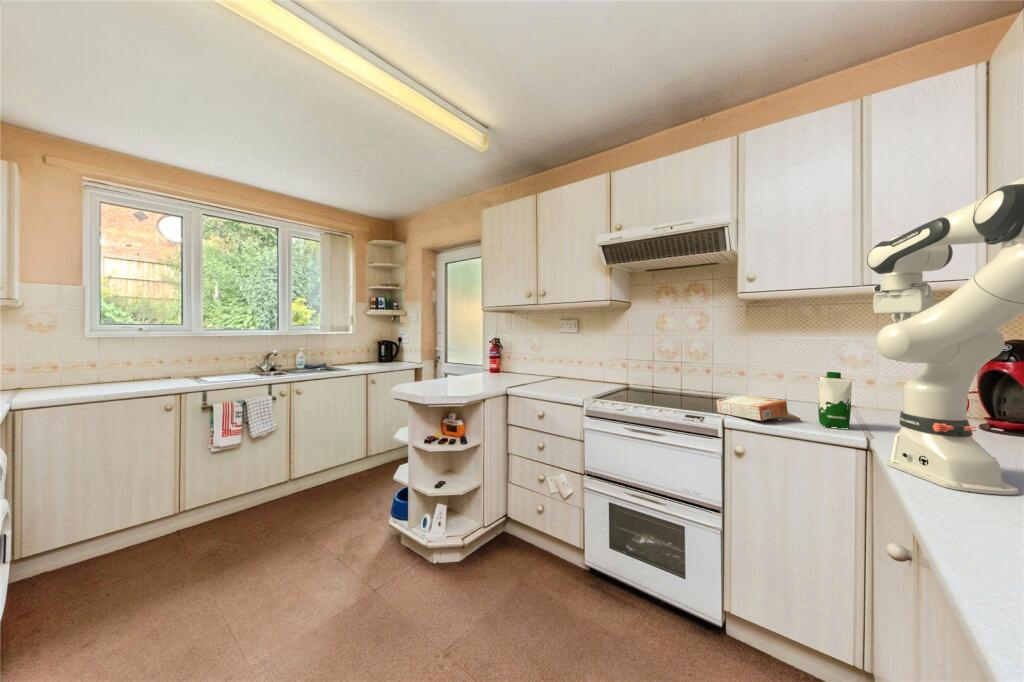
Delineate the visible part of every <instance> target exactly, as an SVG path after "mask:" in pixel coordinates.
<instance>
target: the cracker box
mask: <svg viewBox="0 0 1024 682" xmlns="http://www.w3.org/2000/svg"><path fill="white" fill-rule="evenodd" d="M715 400H716V407H717V408H716V409H717V413H719V414H724V415H729V416H734V417H739V418H743V419H749V420H753V421H754V420H755V421H758V422H759V421H760V422H763V421H766V420H767V419H771V418H775V417H779V416H783V415H788V413H789V411H788V404H787V400H783V399H777V398H776V399H775V398H767V397H760V396H754V395H753V396H752V395H746V394H739V395H734V396H729V397H725V398H720V399H715ZM767 421H768V420H767Z"/></svg>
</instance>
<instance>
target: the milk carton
mask: <svg viewBox="0 0 1024 682" xmlns="http://www.w3.org/2000/svg"><path fill="white" fill-rule="evenodd" d="M818 386H819V387H818V389H819V390H818V410H817V411H818V423H819V422H820V423H821V424H822V425H823V426H825V427H837V428H848V429H849V430H850V423H851V414H852V413H851V411H852V410H851V409H852V386H853V381H852V380H851V379H848V378H847V377H842V373H841V372H840V371H826V376H819V385H818ZM820 423H819V424H820ZM821 424H820V425H821ZM822 425H821V426H822ZM823 426H822V427H823Z"/></svg>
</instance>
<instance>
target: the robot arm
mask: <svg viewBox="0 0 1024 682" xmlns="http://www.w3.org/2000/svg"><path fill="white" fill-rule="evenodd" d="M980 243H985V244H986V245H988V246H989V245H997V244H999V243H1000V244H1001V247H1000V250H999V252H998V254H997V255H996V256H995V257H994V258H993V259H992V260H991V261H989V262H988V263H986V264H985V265H984V266H983V267H981V269H980V270H978V271H977V272H976V273H975V274H974V275H972V276H971V277H970V278H969V279H967V280H966V281H965V282H964V283H963V284H962V285H961V286H959V288H957V289H955V291H954V292H952V293H951V294H950V295H949V296H947V297H945V298H944V299H943V300H941V301H939V302H937V303H936V304H935V299H934V298H935V297H934V291H933V290H932V287H931V285H930V284H929V283H928V282H923V281H924V280H923V277H924V275H923V272H934V271H939V270H942V269H944V268H945V267H946V266H947V265H948V264H949V263H950V262H951V260H952V258H953V254H954V253H953V252H954V251H953V247H952V245H968V244H971V245H972V244H980ZM866 262H867V265H868V267H869V268H870V269H871V270H872V271H874V272H875V273H877V274H878V275H884V276H883V280H882V281H881V282H880V283H877V284H876V285H874V286H873V288H872V292H873V293H874V295H873V298H872V299H873V300H872V309H873V312H874V314H878V315H881V314H882V315H885V314H891V315H890V316H891V319H892V320H893V323H890V324H888V325H887V324H886V325H885V326H884V327H882V328H881V329H880V330H879V332H878V333H877V335H876V338H875V346H876V348H877V351H878V353H880V354H881V356H882V357H884V358H885V359H887V360H891V361H897V362H900V363H901V362H902V363H906V364H907V363H908V364H924V366H923V368H922V370H921V371H920V372H919V373H918V375H916V376H915V377H912V378H910V379H909V380H907V381H906V382H905V383H904V386H903V396H902V397H903V398H902V411H900V413H899V418H898V419H899V425H900V429H899V431H898V432H897V433H896V434H895V436H894V440H893V446H892V451H891V456H890V459H887V460H886V465H887V466H888V467H892V468H894V469H897V470H899V471H903V472H904V473H906V474H909V475H912V476H915V477H918V478H920V479H923V480H925V481H927V482H930V483H933V484H935V485H938V486H940V487H943V488H946V489H952V490H957V491H961V490H962V491H963V492H968V491H969V493H979V494H986V495H988V494H989V495H1001V496H1002V495H1005V496H1008V495H1009V496H1012V495H1018V494H1019V493H1020V490H1019V488H1017V487H1015V486H1013V485H1011V484H1009V483H1008V482H1005V481H1003V478H1002V467H1001V465H1000V463H999V461H997V458H995V457H994V456H992V455H991V454H990V453H989V452H988V451H987V450H986V449H985V448H984V447H983V446H982V445H981V444H979V442H977V441H976V440H975V439H974V437H973V432H977V430H975V429H977V428H978V427H977V426H971V425H970V422H969V420H968V419H967V406H968V399H969V397H968V396H969V391H970V389H971V385H972V384H973V383H972V382H973V381H974V379H975V378H976V376H977V374H978V372H980V370H981V369H982V368H983V367H984V365H986V363H988V362H990V361H991V360H993V359H995V358H997V357H998V356H999V355H1000V354H1001V353H1002V352H1003V350H1004V349H1005V348H1004V347H1005V338H1004V337H1005V336H1004V334H1003V333H1002V331H1000V330H999V329H1001V328H1003V327H1004V326H1006V325H1008V324H1010V323H1011V322H1013V321H1014V320H1015V319H1016V318H1017V317H1019V316H1021V315H1022V314H1023V313H1024V176H1023V177H1021V178H1018V179H1015V180H1014V181H1011V182H1009V183H1006V184H1005V185H1002V186H1000V187H998V188H997V189H995V190H993V191H991V192H989V193H988V194H986V195H984V196H982V197H981V198H979V199H977V200H975V201H973V202H971V203H970V204H967V205H965V206H964V207H961V208H959V209H957V210H955V211H953V212H950V213H948V214H945V215H943V216H941V217H938V218H935V219H933V220H931V221H929V222H925V223H924V224H921V225H920V226H917V227H915V228H914V229H912V230H909V231H908V232H906V233H903V234H899V235H896V236H894V237H892V238H890V239H889V240H885V241H884V240H883V241H880V242H879V243H877V244H875V245H874V247H872V248H871V250H870V251H869V252H868V254H867V258H866ZM914 313H916V314H914ZM912 314H914V315H912ZM962 491H961V492H962Z"/></svg>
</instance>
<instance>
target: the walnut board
mask: <svg viewBox="0 0 1024 682" xmlns="http://www.w3.org/2000/svg"><path fill="white" fill-rule="evenodd" d="M771 419H781V420H780V421H785V420H800V421H801V418H800V417H799V416H796V415H794V414H792V413H790V412H788V415H783V416H779V417H775V418H771Z"/></svg>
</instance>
